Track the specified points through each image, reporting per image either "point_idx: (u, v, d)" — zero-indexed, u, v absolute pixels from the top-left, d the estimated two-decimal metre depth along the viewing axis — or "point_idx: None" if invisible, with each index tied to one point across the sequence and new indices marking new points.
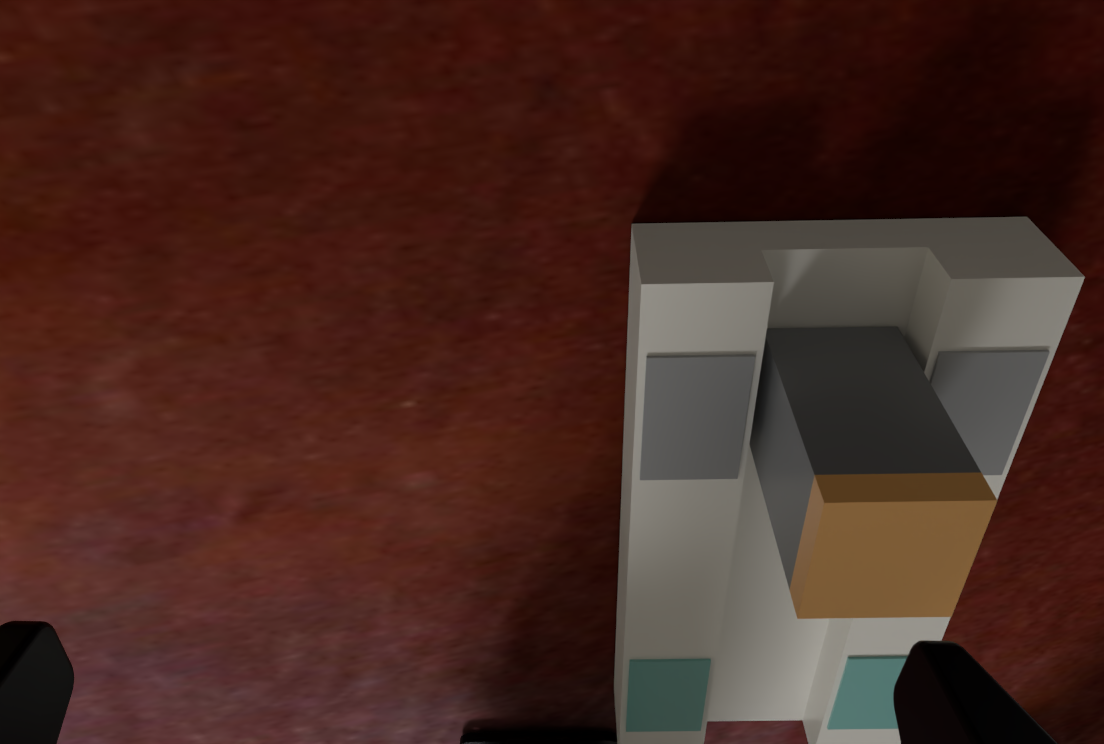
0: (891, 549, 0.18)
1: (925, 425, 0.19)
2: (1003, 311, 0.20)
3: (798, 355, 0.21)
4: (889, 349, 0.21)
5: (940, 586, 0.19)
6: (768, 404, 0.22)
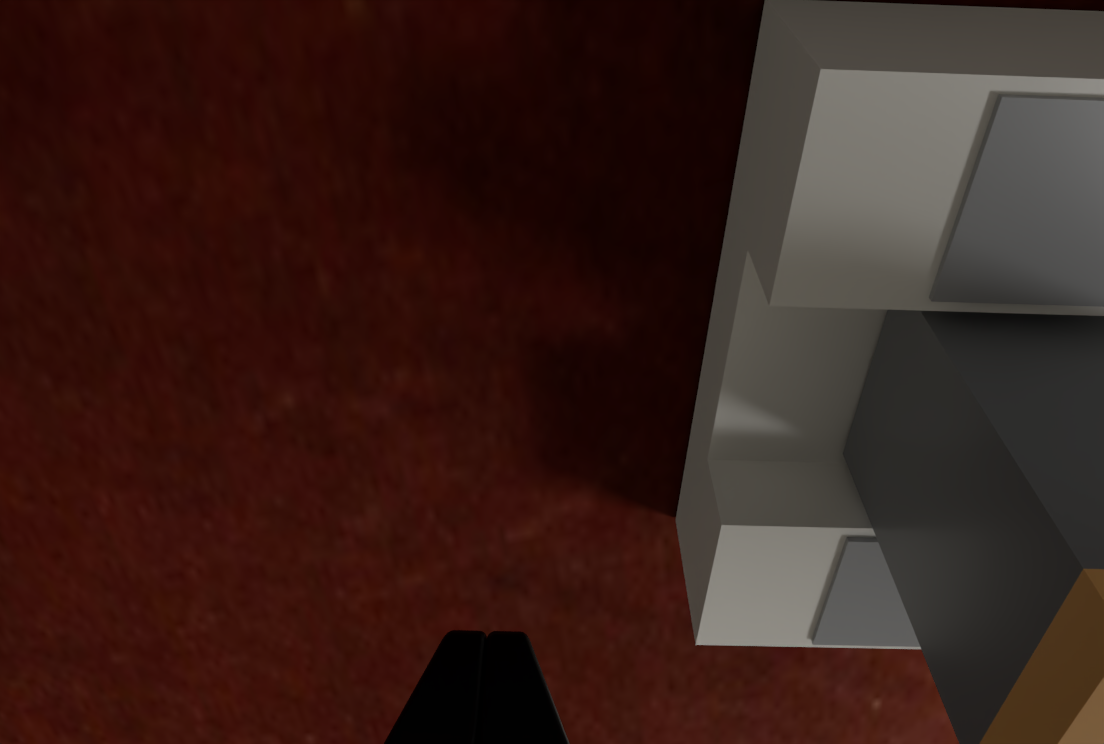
0: None
1: (995, 501, 0.10)
2: (866, 206, 0.10)
3: (873, 476, 0.13)
4: (911, 345, 0.12)
5: None
6: None
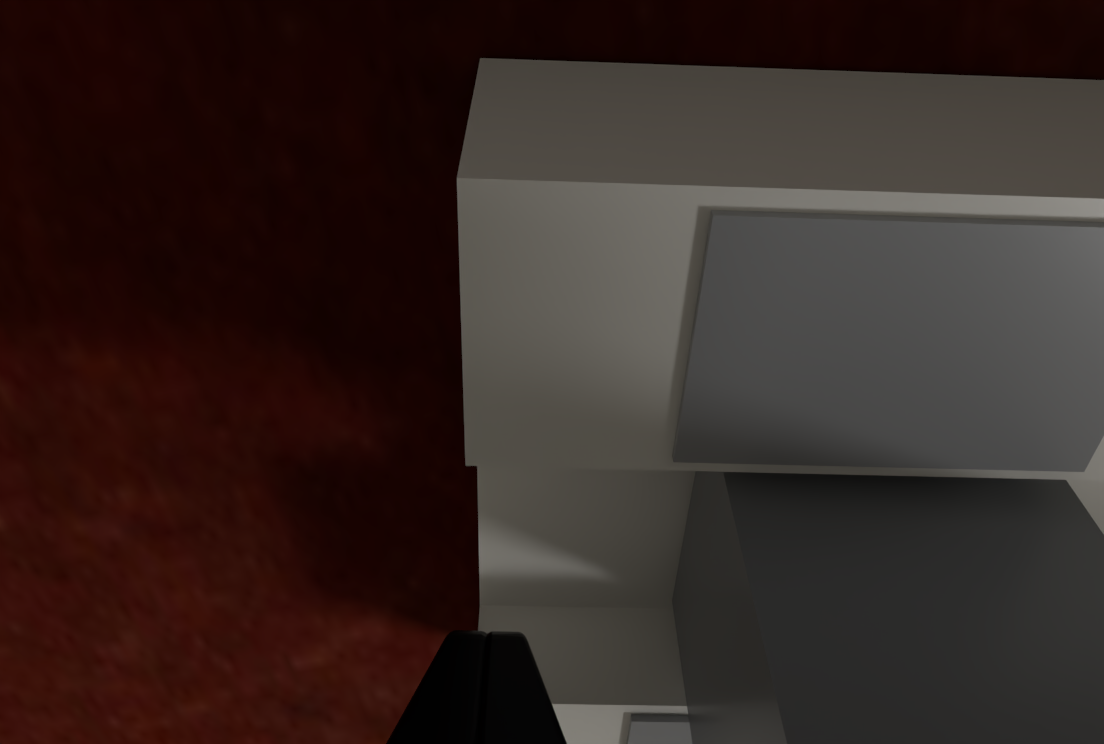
0: None
1: None
2: (563, 348, 0.08)
3: (689, 647, 0.11)
4: (714, 502, 0.09)
5: None
6: None
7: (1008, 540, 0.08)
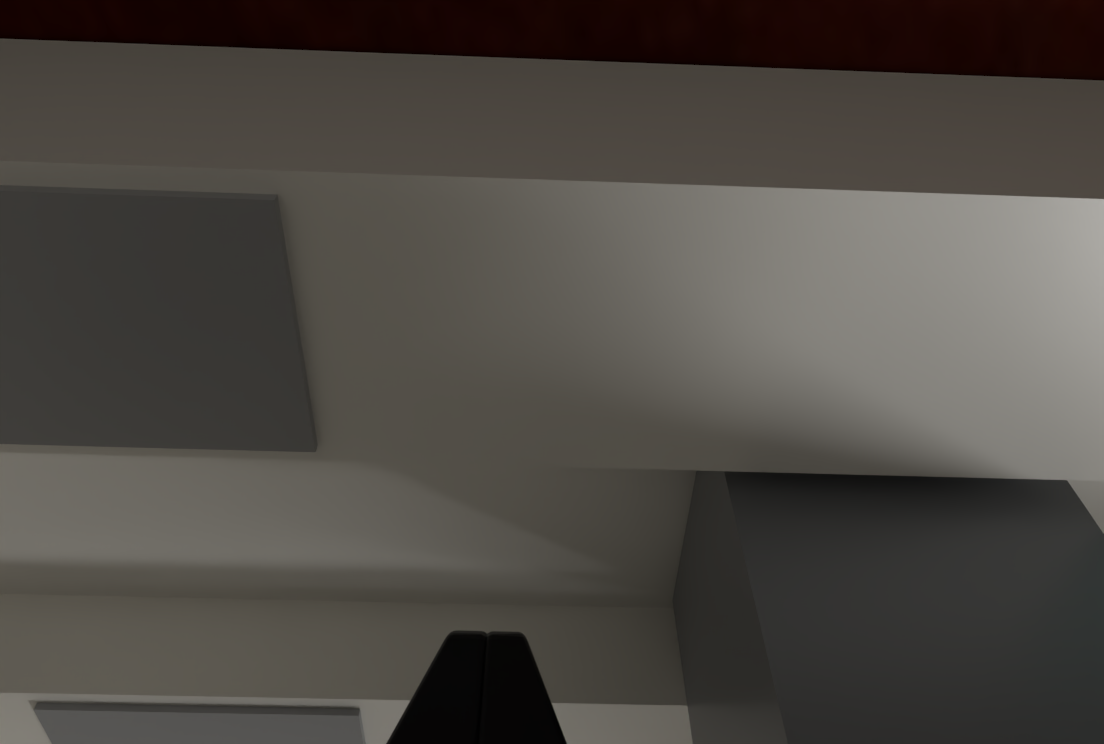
0: None
1: None
2: None
3: (689, 646, 0.11)
4: (715, 501, 0.09)
5: None
6: None
7: (1011, 540, 0.08)
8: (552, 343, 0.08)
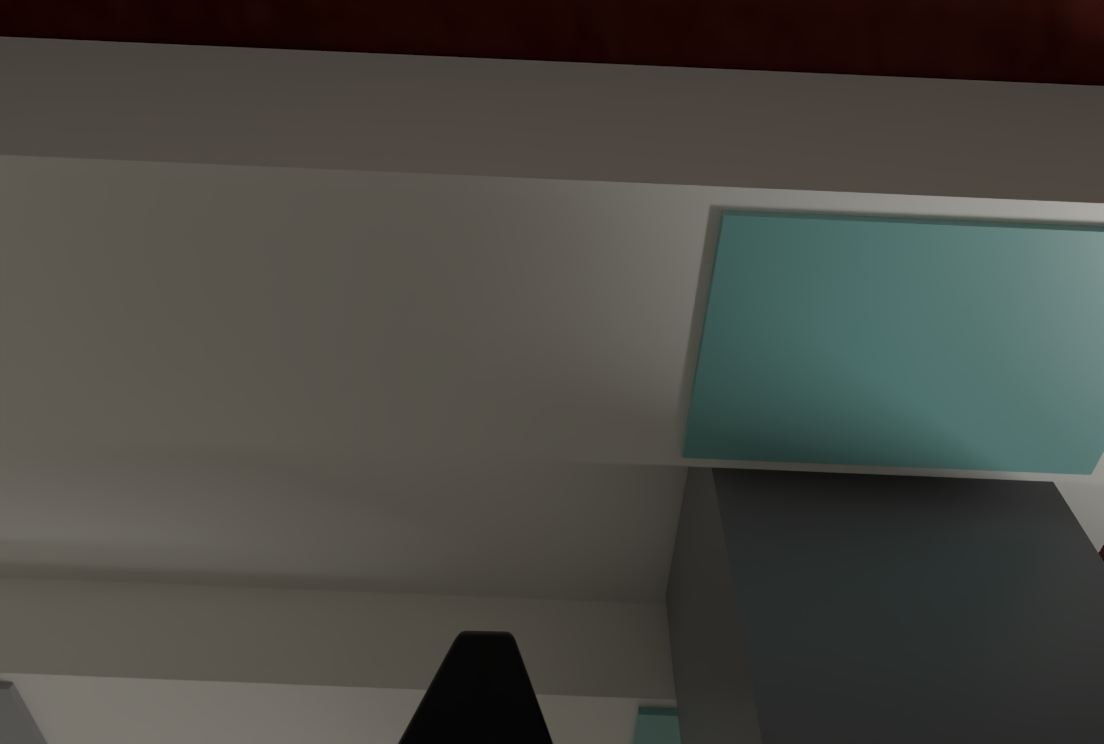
0: None
1: None
2: None
3: (679, 641, 0.11)
4: (704, 497, 0.10)
5: None
6: None
7: (992, 539, 0.09)
8: (50, 318, 0.08)
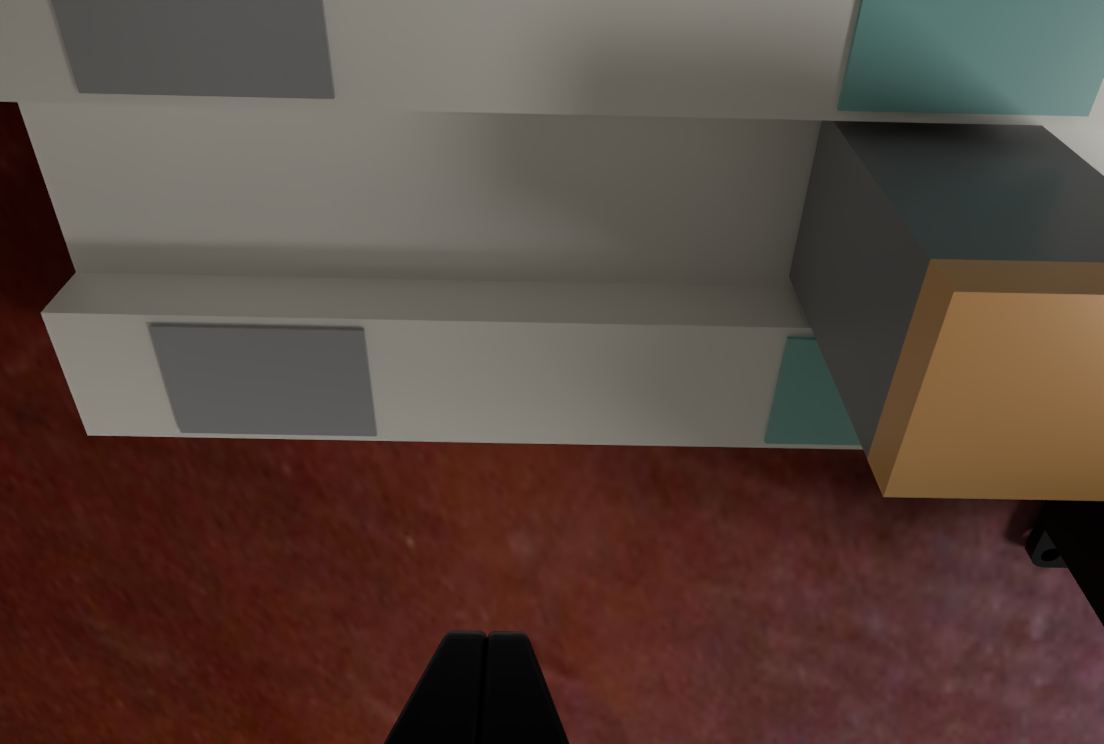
0: (1018, 410, 0.12)
1: (882, 246, 0.13)
2: None
3: (809, 280, 0.16)
4: (833, 159, 0.15)
5: None
6: None
7: (1019, 155, 0.14)
8: (470, 17, 0.13)
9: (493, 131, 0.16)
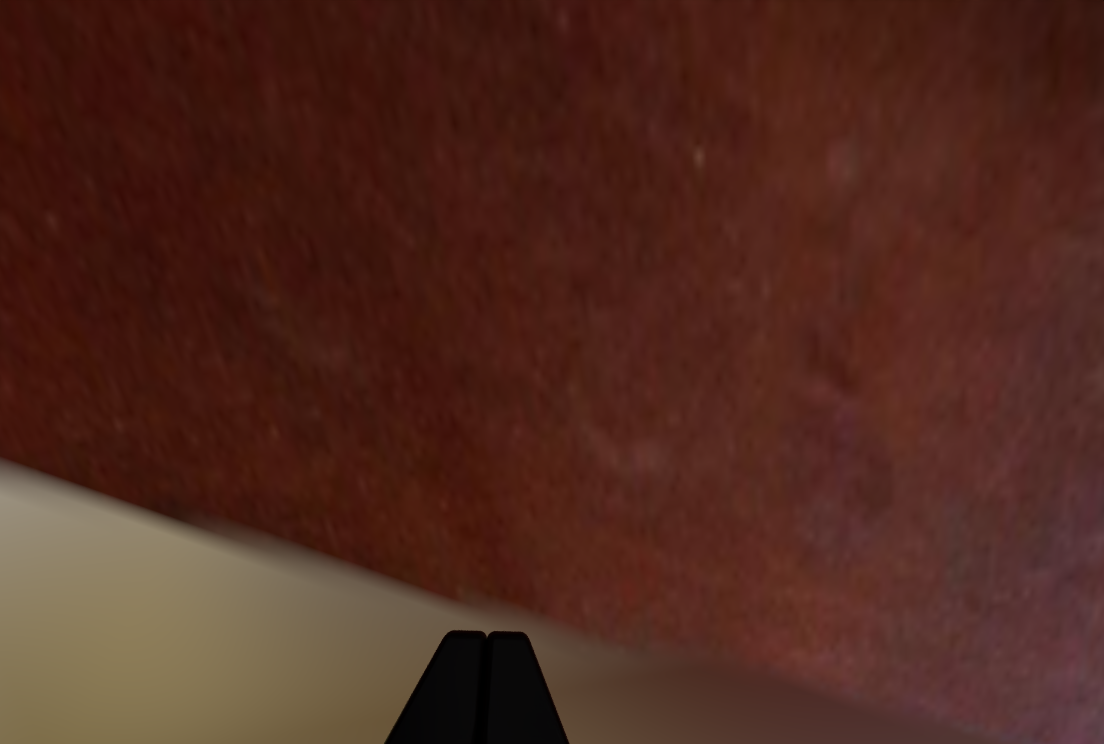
0: None
1: None
2: None
3: None
4: None
5: None
6: None
7: None
8: None
9: None
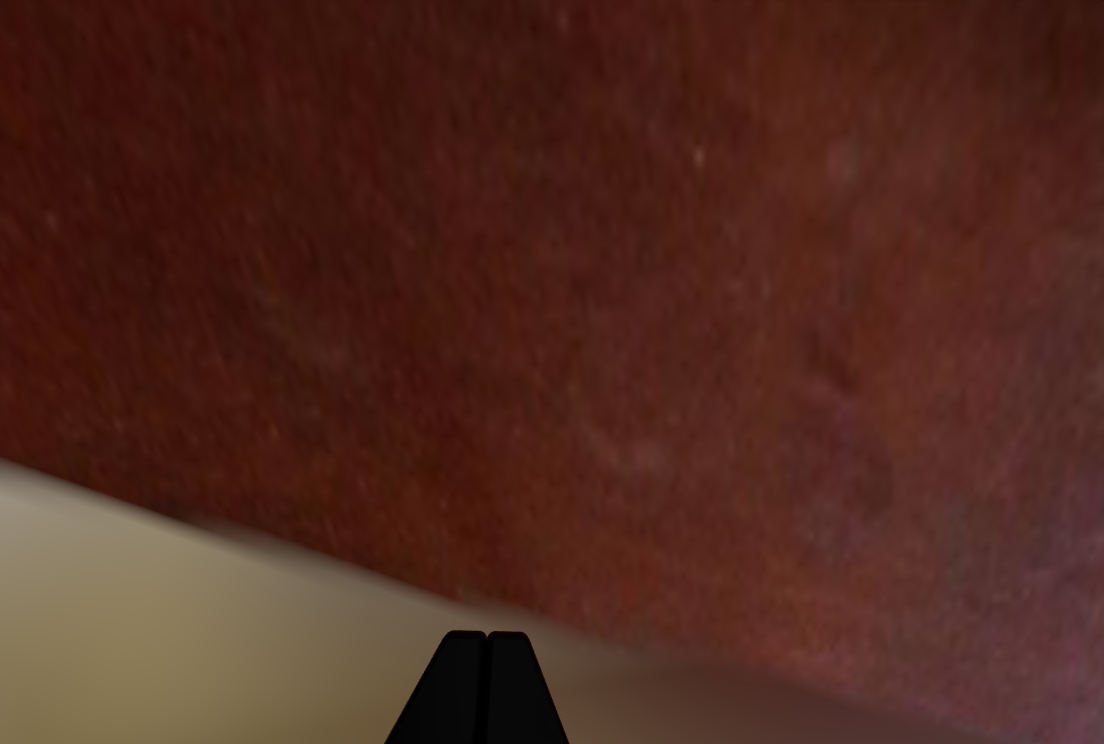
0: None
1: None
2: None
3: None
4: None
5: None
6: None
7: None
8: None
9: None
